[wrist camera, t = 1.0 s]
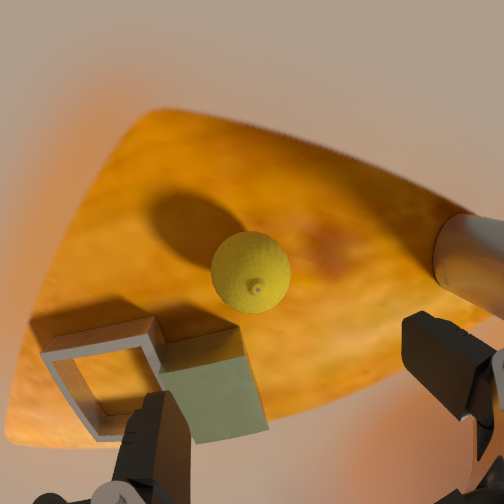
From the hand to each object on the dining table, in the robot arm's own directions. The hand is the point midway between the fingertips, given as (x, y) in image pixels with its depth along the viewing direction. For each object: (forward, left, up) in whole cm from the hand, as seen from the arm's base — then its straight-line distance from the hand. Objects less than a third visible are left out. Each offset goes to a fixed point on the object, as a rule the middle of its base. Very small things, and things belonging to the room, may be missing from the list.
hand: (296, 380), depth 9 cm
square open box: (+11, +9, -17) cm, 22 cm away
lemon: (0, 0, -17) cm, 17 cm away
